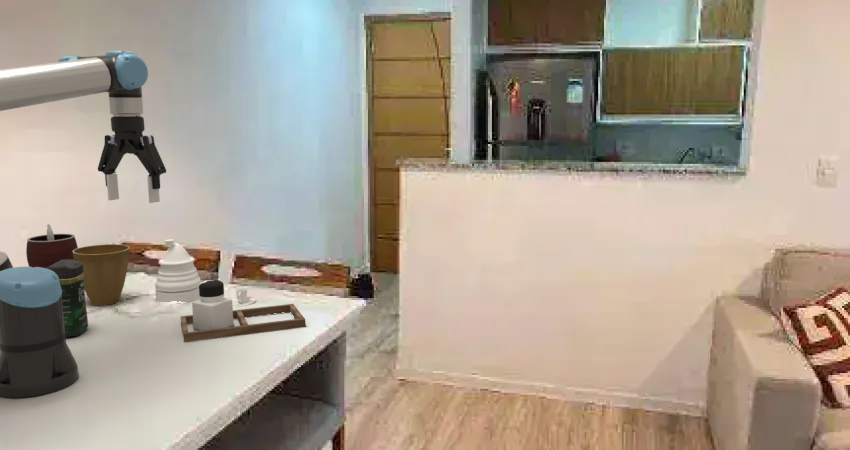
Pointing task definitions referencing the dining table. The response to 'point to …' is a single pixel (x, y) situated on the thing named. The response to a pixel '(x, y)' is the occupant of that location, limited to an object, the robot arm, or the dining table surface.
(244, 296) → the teacup and saucer
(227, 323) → the medicine bottle
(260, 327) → the walnut rack
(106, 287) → the plant pot
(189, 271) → the honey pot
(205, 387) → the dining table surface
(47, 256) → the mate gourd
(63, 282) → the coffee jar
